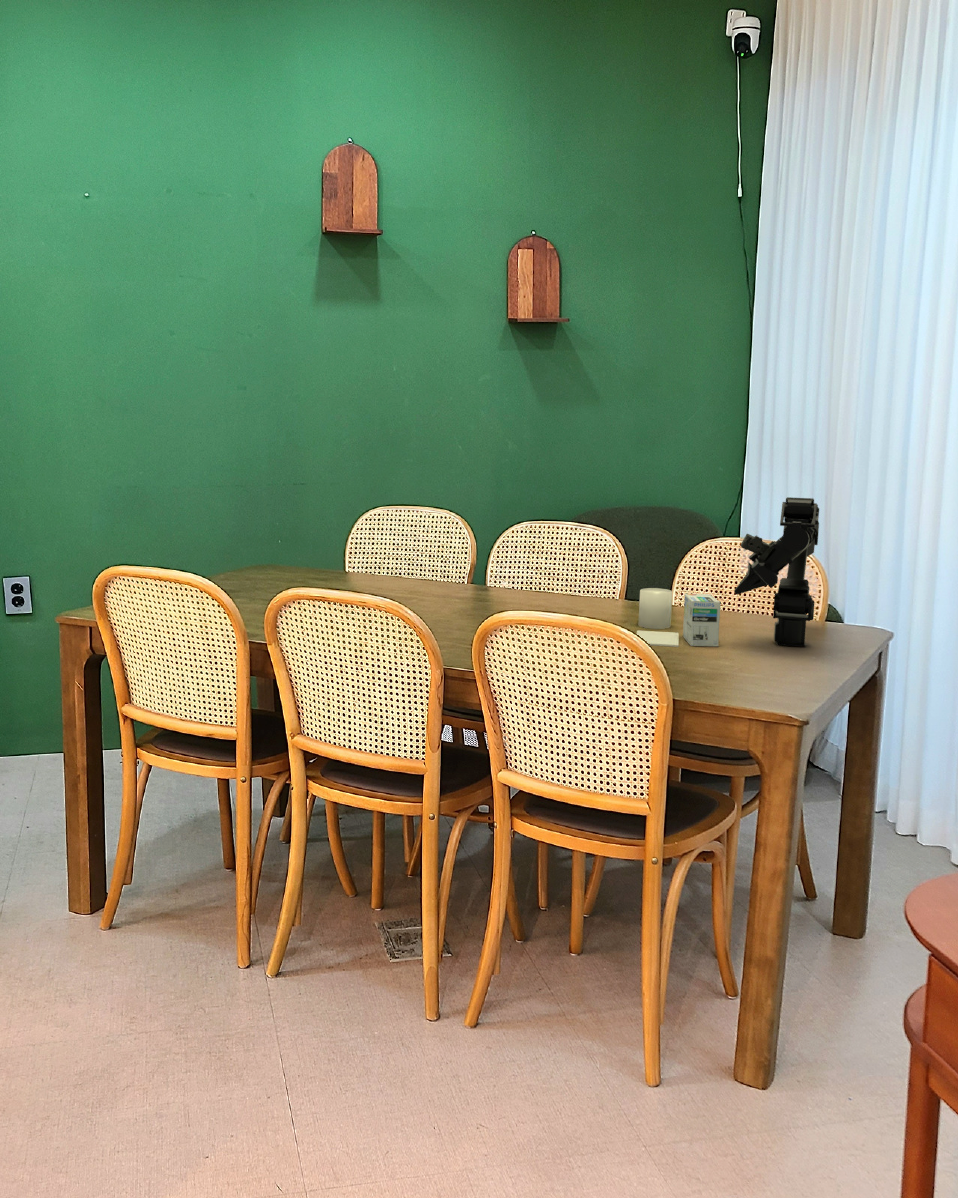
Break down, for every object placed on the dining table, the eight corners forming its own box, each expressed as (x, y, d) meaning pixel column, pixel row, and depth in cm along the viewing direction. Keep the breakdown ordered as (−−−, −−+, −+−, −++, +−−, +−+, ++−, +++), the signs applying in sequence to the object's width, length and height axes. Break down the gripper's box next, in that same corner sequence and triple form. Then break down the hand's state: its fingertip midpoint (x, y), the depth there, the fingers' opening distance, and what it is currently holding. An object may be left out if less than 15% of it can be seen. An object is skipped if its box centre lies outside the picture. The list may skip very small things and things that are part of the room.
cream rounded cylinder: (670, 623, 281) (672, 588, 279) (670, 629, 273) (672, 594, 271) (639, 621, 282) (640, 587, 280) (637, 628, 274) (639, 592, 273)
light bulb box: (718, 647, 255) (721, 601, 253) (690, 646, 255) (692, 601, 253) (709, 637, 265) (711, 593, 264) (681, 636, 265) (683, 592, 263)
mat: (678, 634, 268) (678, 632, 268) (678, 646, 254) (678, 645, 254) (637, 632, 269) (637, 630, 269) (634, 644, 256) (634, 642, 256)
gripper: (760, 518, 262) (711, 562, 266) (765, 527, 244) (712, 574, 248) (792, 552, 262) (742, 595, 266) (800, 564, 244) (746, 610, 248)
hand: (735, 593), depth 257 cm, fingers closed
